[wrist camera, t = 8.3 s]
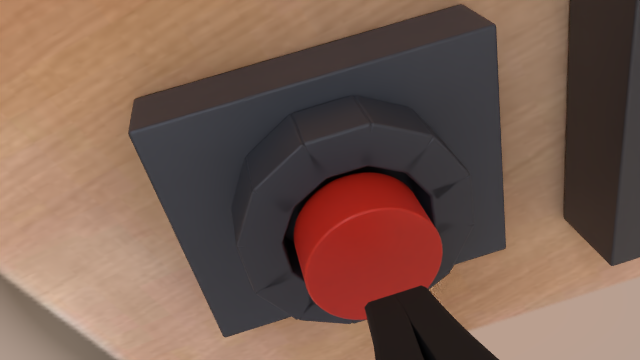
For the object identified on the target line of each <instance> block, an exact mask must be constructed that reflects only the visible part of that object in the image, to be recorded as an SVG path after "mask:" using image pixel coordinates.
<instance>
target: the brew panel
mask: <svg viewBox="0 0 640 360" xmlns="http://www.w3.org/2000/svg"><path fill="white" fill-rule="evenodd" d="M564 219H565V220H566V221H567V222H568V223H569V224H570V225H571V226H572V227H573V228H574V229H575V230H576V231H577V232H578V233H579V234H580V235H581V236H582V237H583V238H584V239H585V240H586V241H587V242H588V243H589V244H590V245H591V246H592V247H593V248H594V249H595V250H596V251H597V252H598V253H599V254H600V255H601V256H602V257H603V258H604V259H605V260H606V261H607V262H608V263H609V264H610V265H611V266H614V265H618V264H621V263H624V262H627V261H630V260H633V259H636V258H639V257H640V0H570V32H569V65H568V98H567V132H566V165H565V198H564Z"/></svg>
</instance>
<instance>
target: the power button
mask: <svg viewBox="0 0 640 360" xmlns="http://www.w3.org/2000/svg"><path fill="white" fill-rule="evenodd" d="M294 245H295V249H296V252H297V256H298V260H299V263H300V267H301V271H302V274H303V278H304V282H305V285H306V289H307V291H308V293H309V295H310V297H311V298H312V300H313V301H314V302H315V303H316V304H317V305H318V306H319V307H320V308H322V309H323V310H324V311H326V312H328V313H329V314H332V315H334V316H337V317H340V318H344V319H351V320H367V316H366V312H365V308H364V307H365V306H366V305H367V303H368V302H371V301H374V300H377V299H380V298H383V297H386V296H389V295H393V294H396V293H399V292H402V291H405V290H408V289H411V288H415V287H418V286H421V285H422V286H424V287H426V288H427V289H428V287H429V286H430V285H431V283H432V282H433V280H434V279H435V277H436V275H437V273H438V271H439V268H440V265H441V261H442V254H443V250H442V241H441V238H440V235H439V233H438V231H437V229H436V228H435V226H434V225H433V223H432V221H431V220H430V218H429V217H428V215H427V214H426V212H425V211H424V209H423V207H422V206H421V204H420V203H419V201H418V200H417V198H416V197H415V195H414V193H413V192H412V191H411V190H410V188H409V187H408V186H407V185H405V184H404V183H403V182H401V181H400V180H398V179H396V178H394V177H391V176H389V175H385V174H381V173H374V172H362V173H354V174H350V175H346V176H343V177H340V178H338V179H335V180H333V181H331V182H329V183H328V184H326V185H325V186H323V187H321V188H320V189H319V190H318V191H316V192H315V193H314V194H313V195H312V196H311V197H310V198H309V199H308V200H307V202H306V203H305V204H304V206H303V207H302V209H301V211H300V213H299V215H298V217H297V220H296V223H295V227H294Z"/></svg>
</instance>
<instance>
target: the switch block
mask: <svg viewBox="0 0 640 360" xmlns="http://www.w3.org/2000/svg"><path fill="white" fill-rule="evenodd" d="M128 134H129V136H130V139H131V141H132V143H133V145H134V147H135V149H136V151H137V153H138V156H139V158H140V160H141V162H142V164H143V166H144V168H145V170H146V173H147V175H148V177H149V179H150V181H151V183H152V185H153V188H154V190H155V192H156V194H157V196H158V198H159V200H160V202H161V205H162V207H163V209H164V211H165V213H166V215H167V217H168V219H169V222H170V224H171V226H172V228H173V230H174V232H175V234H176V237H177V239H178V241H179V243H180V245H181V247H182V249H183V251H184V254H185V256H186V258H187V260H188V262H189V264H190V266H191V269H192V271H193V273H194V275H195V277H196V279H197V281H198V283H199V286H200V288H201V290H202V292H203V294H204V296H205V298H206V300H207V303H208V305H209V307H210V309H211V311H212V313H213V315H214V318H215V320H216V322H217V324H218V326H219V328H220V330H221V332H222V335H223V336H224V337H228V336H232V335H235V334H238V333H241V332H244V331H247V330H250V329H254V328H257V327H260V326H263V325H266V324H269V323H272V322H276V321H279V320H282V319H285V318H288V317H291V316H292V317H293V318H295V319H299V320H305V321H318V322H331V323H344V324H351V323H357V322H360V321H363V320H351V319H344V318H340V317H337V316H334V315H332V314H329V313H328V312H326V311H324V310H323V309H322V308H320V307H319V306H318V305H317V304H316V303H315V302H314V301H313V300H312V298H311V297H310V295H309V293H308V291H307V289H306V285H305V282H304V278H303V274H302V271H301V267H300V263H299V260H298V256H297V252H296V249H295V245H294V227H295V223H296V220H297V217H298V215H299V213H300V211H301V209H302V207H303V206H304V204H305V203H306V202H307V200H308V199H309V198H310V197H311V196H312V195H313V194H314V193H315V192H316V191H318V190H319V189H320V188H321V187H323V186H325V185H326V184H328V183H329V182H331V181H333V180H335V179H338V178H340V177H343V176H346V175H350V174H354V173H362V172H374V173H381V174H385V175H389V176H391V177H394V178H396V179H398V180H400V181H401V182H403V183H404V184H405V185H407V186H408V187H409V188H410V190H411V191H412V192H413V193H414V195H415V197H416V198H417V200H418V201H419V203H420V204H421V206H422V207H423V209H424V211H425V212H426V214H427V215H428V217H429V218H430V220H431V221H432V223H433V225H434V226H435V228H436V229H437V231H438V233H439V235H440V238H441V241H442V250H443V254H442V261H441V265H440V268H439V271H438V273H437V275H436V277H435V279H434V280H433V282H432V283H431V285H430V286H429V287H428V290H429V289H430V288H431V287H432V286H434V285H435V284H436V283H437V282H439V281H440V280H441V279H442V278H444V277H445V276H446V275H447V274H449V273H450V270H452V268H453V266H454V265H455V264H458V263H461V262H464V261H468V260H471V259H474V258H477V257H480V256H483V255H486V254H490V253H493V252H496V251H499V250H502V249H505V248H506V239H505V217H504V195H503V172H502V150H501V128H500V105H499V83H498V61H497V38H496V26H495V24H494V23H492V22H490V21H489V20H487V19H486V18H484V17H482V16H481V15H479V14H477V13H476V12H474V11H472V10H471V9H469V8H468V7H466V6H464V5H462V4H461V5H457V6H454V7H450V8H447V9H443V10H440V11H436V12H433V13H430V14H426V15H423V16H419V17H416V18H412V19H409V20H406V21H402V22H399V23H395V24H392V25H388V26H385V27H381V28H378V29H375V30H371V31H368V32H364V33H361V34H357V35H354V36H350V37H347V38H344V39H340V40H337V41H333V42H330V43H326V44H323V45H320V46H316V47H313V48H309V49H306V50H302V51H299V52H295V53H292V54H289V55H285V56H282V57H278V58H275V59H271V60H268V61H264V62H261V63H258V64H254V65H251V66H247V67H244V68H240V69H237V70H234V71H230V72H227V73H223V74H220V75H216V76H213V77H209V78H206V79H203V80H199V81H196V82H192V83H189V84H185V85H182V86H178V87H175V88H172V89H168V90H165V91H161V92H158V93H154V94H151V95H147V96H144V97H141V98H137V99H135V100H134V103H133V109H132V114H131V120H130V126H129V132H128Z"/></svg>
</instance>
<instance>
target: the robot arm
mask: <svg viewBox="0 0 640 360" xmlns="http://www.w3.org/2000/svg"><path fill="white" fill-rule="evenodd" d="M364 308H365V312H366V316H367V320H368V324H369V328H370V332H371V336H372V340H373V344H374V351H375V359H376V360H499V359H498V358H496V357H495V356H494V355H493V354H492V353H491V352H490V351H488V349H486V348H485V347H484V346H483V345H482V344H481V343H480V342H479V341H478V340H476V339H475V338H474V337H473V336H472V335H471V334H470V333H469V332H468V331H467V330H466V329H465V328H464V327H463V326H462V325H461V324H460V323H459V322H458V321H457V320H456V319H455V318H454V317H453V316H452V315H451V314H450V313H449V312H448V311H447V310H446V309H445V308H444V307H443V306H442V305H441V304H440V303H439V301H438V300H437V299H436V298H435V297H434V296H433V295H432V293H431V292H430V291H429V290H428V289H427V288H426V287H424V286H422V285H421V286H418V287H415V288H411V289H408V290H405V291H402V292H399V293H396V294H393V295H389V296H386V297H383V298H380V299H377V300H374V301H371V302H368V303H367V305H366V306H365V307H364Z"/></svg>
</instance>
